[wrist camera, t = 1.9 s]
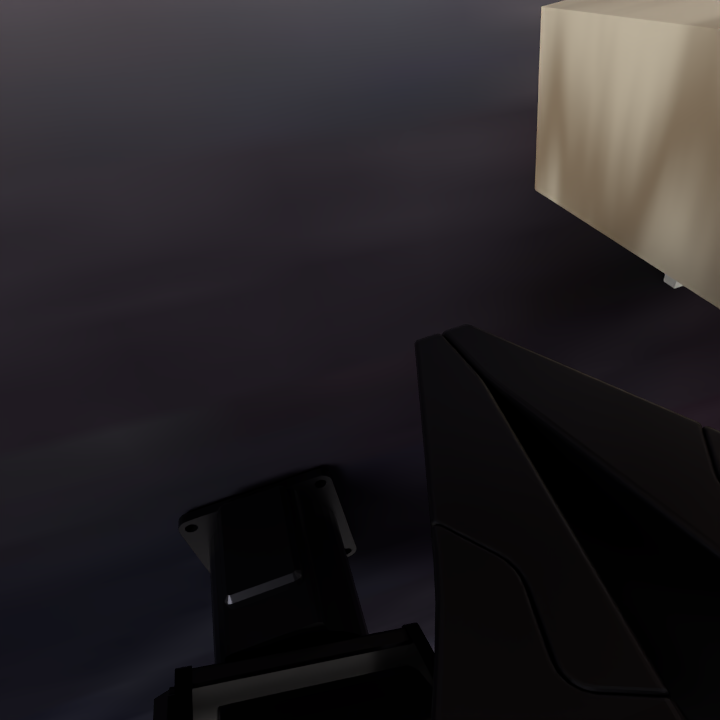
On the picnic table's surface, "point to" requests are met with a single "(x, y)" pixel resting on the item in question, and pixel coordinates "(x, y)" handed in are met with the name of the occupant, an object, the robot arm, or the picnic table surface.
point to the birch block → (636, 128)
